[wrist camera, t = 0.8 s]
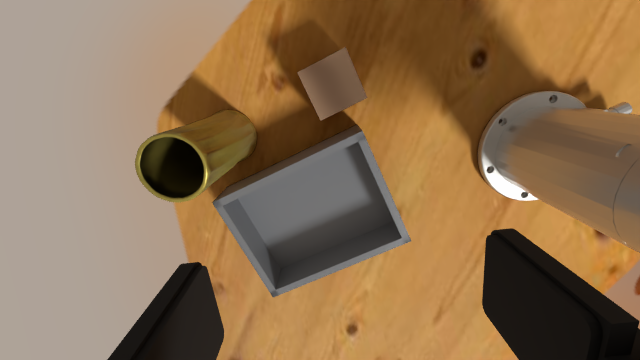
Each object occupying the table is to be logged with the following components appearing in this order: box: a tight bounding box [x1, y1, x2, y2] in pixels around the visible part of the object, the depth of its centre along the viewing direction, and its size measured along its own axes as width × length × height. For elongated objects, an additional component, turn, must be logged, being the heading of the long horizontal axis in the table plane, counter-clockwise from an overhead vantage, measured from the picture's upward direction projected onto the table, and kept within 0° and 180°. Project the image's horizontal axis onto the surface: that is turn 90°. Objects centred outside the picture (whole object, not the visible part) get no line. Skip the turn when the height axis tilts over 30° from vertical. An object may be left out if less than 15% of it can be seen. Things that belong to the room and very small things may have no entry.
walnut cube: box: [297, 47, 367, 121], centre depth 31 cm, size 5×5×5 cm
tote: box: [212, 125, 411, 297], centre depth 35 cm, size 18×14×5 cm
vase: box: [135, 110, 257, 202], centre depth 28 cm, size 6×6×14 cm
